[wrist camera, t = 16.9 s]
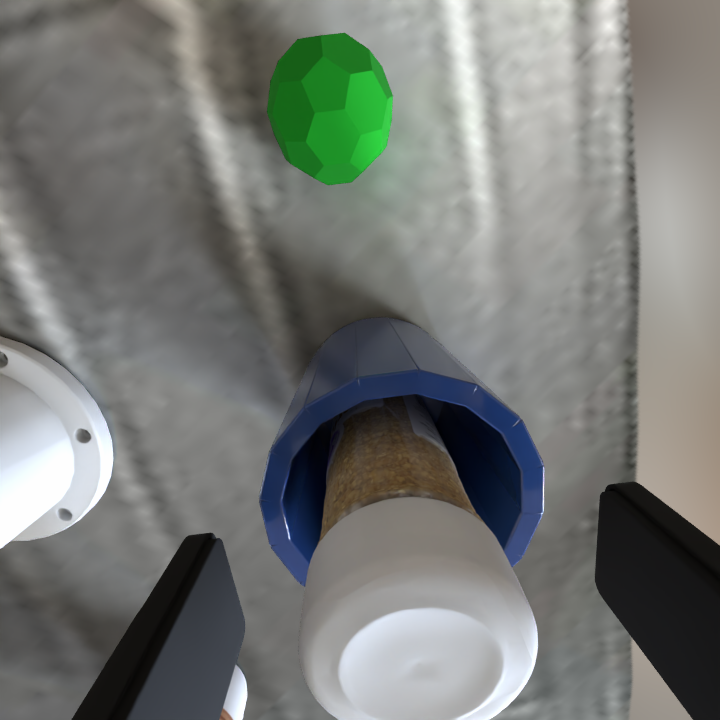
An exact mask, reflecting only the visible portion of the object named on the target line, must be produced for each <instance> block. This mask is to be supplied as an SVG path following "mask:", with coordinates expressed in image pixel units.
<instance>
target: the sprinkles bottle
mask: <svg viewBox="0 0 720 720" xmlns="http://www.w3.org/2000/svg"><path fill="white" fill-rule="evenodd" d="M326 485H327V487H326V495H325V500H324V512H323V519H322V530H321V536H320V541H319V542H318V545H317V547H316V549H315V551H314V553H313V555H312V558H311V561H310V564H309V568H308V573H307V579H306V585H305V591H304V598H303V606H302V614H301V621H300V630H299V640H298V652H299V661H300V667H301V670H302V674H303V677H304V680H305V682H306V684H307V685H308V687H309V689H310V691H311V693H312V694H313V696H314V697H315V699H316V700H317V701H318V702H319V704H320V705H321V706H322V707H323V708H324V709H325V710H326V711H328V712H329V713H330V714H331V715H333V716H334V717H336V718H337V719H339V720H488V719H490V718H492V717H494V716H495V715H497V714H498V713H499V712H500V711H502V710H503V709H504V708H505V707H507V706H508V705H509V704H510V703H511V702H512V701H513V700H514V699H515V698H516V696H517V695H518V694H519V693H520V692H521V690H522V689H523V687H524V686H525V684H526V683H527V681H528V679H529V677H530V675H531V673H532V670H533V668H534V665H535V661H536V656H537V649H538V634H537V626H536V622H535V619H534V615H533V613H532V610H531V608H530V605H529V603H528V601H527V598H526V596H525V594H524V592H523V590H522V587H521V585H520V583H519V581H518V579H517V577H516V575H515V573H514V571H513V569H512V567H511V565H510V563H509V561H508V559H507V557H506V555H505V553H504V551H503V549H502V547H501V546H500V544H499V542H498V540H497V538H496V537H495V535H494V534H493V533H492V531H491V530H490V529H489V528H488V527H487V526H486V524H485V523H484V521H483V520H482V519H481V518H480V516H479V515H478V514H476V512H475V510H474V508H473V506H472V505H471V503H470V500H469V499H468V496H467V494H466V493H465V490H464V488H463V485H462V483H461V481H460V479H459V477H458V473H457V470H456V467H455V464H454V462H453V460H452V458H451V456H450V454H449V452H448V450H447V448H446V446H445V444H444V442H443V440H442V438H441V436H440V434H439V432H438V430H437V428H436V426H435V424H434V422H433V420H432V418H431V416H430V414H429V412H428V410H427V408H426V406H425V404H424V402H423V401H422V399H421V397H420V396H419V395H418V394H411V395H403V396H395V397H388V398H380V399H372V400H365V401H363V402H361V403H359V404H357V405H355V406H353V407H352V408H350V409H348V410H346V411H344V412H342V413H341V414H339V415H337V416H335V417H333V421H332V430H331V440H330V447H329V456H328V465H327V473H326Z"/></svg>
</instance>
